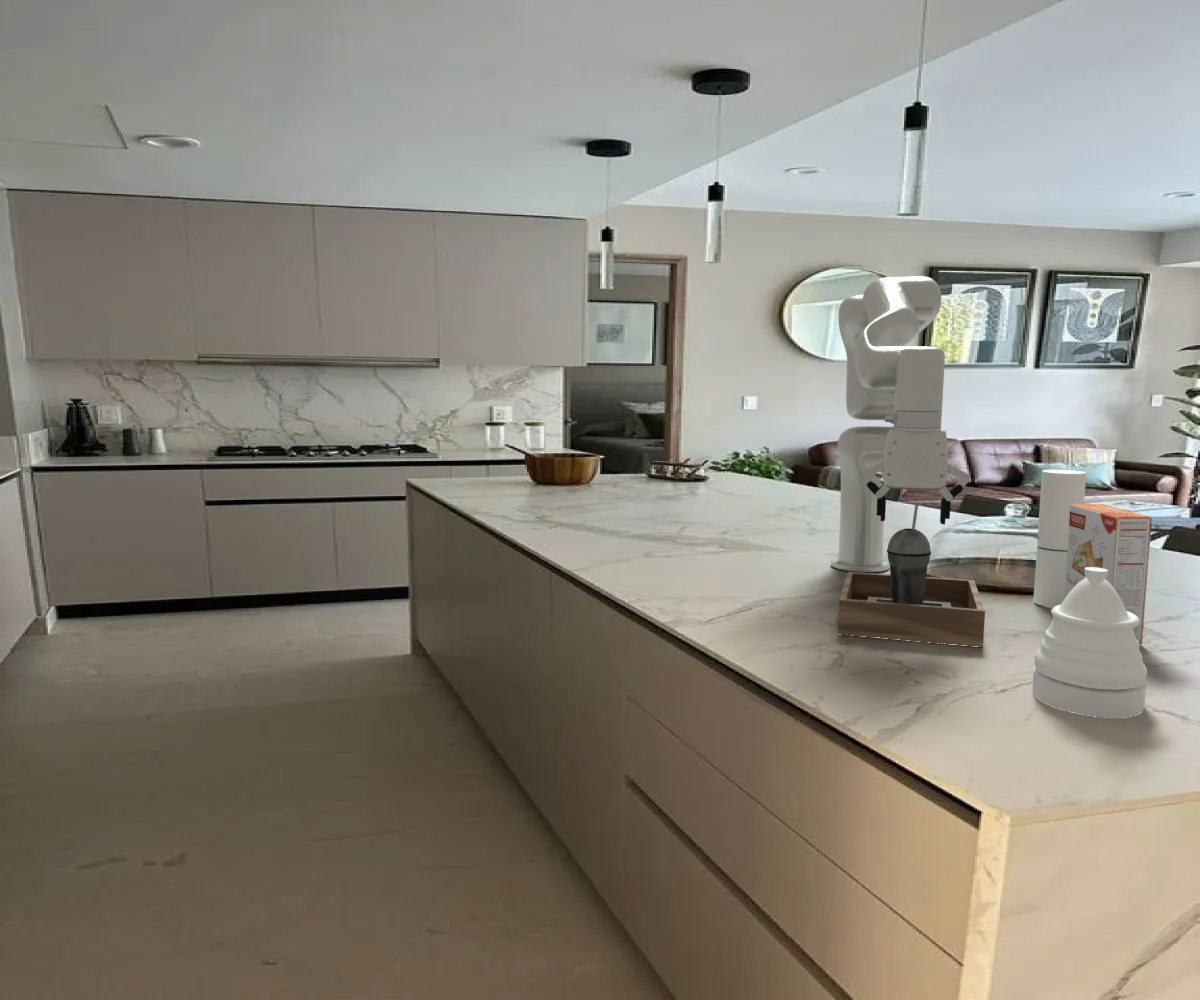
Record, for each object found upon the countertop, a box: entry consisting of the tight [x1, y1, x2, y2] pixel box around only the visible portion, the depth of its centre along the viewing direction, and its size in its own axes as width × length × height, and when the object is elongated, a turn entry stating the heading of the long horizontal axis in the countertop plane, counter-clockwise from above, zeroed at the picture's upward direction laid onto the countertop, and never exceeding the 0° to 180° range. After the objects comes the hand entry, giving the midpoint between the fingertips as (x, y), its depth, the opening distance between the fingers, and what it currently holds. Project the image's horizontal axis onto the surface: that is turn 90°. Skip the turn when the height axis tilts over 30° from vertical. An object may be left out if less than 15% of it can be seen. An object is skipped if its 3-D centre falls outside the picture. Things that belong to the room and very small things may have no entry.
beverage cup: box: [886, 502, 932, 605], centre depth 146 cm, size 7×7×20 cm
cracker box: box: [1064, 502, 1153, 646], centre depth 140 cm, size 14×6×21 cm, turn 178°
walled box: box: [837, 571, 986, 648], centre depth 147 cm, size 22×22×6 cm
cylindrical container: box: [1033, 469, 1087, 609], centre depth 158 cm, size 7×7×25 cm
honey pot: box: [1031, 567, 1148, 719], centre depth 111 cm, size 13×13×18 cm
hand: (912, 521), depth 145 cm, fingers open, 9 cm apart
